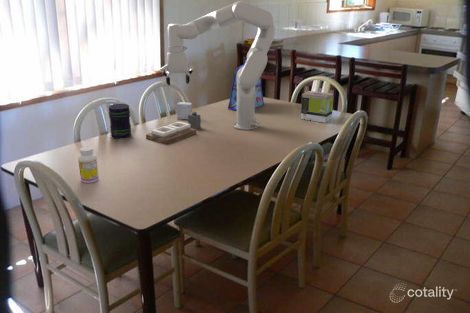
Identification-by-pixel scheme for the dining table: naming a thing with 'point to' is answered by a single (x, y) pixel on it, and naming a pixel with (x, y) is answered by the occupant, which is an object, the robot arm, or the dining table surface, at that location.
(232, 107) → the lunch bag
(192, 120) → the plug
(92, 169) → the supplement bottle
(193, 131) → the walnut board
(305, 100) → the tea box
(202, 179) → the dining table surface
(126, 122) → the storage jar
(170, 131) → the socket plate
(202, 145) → the dining table surface
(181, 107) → the medicine box
